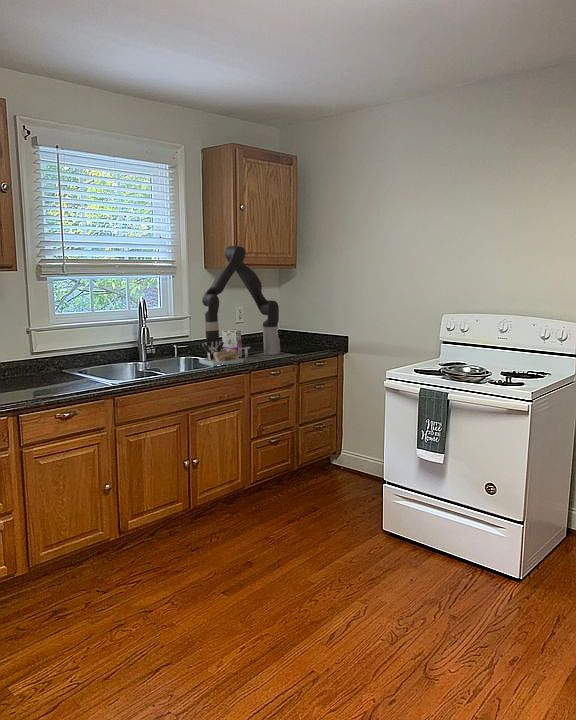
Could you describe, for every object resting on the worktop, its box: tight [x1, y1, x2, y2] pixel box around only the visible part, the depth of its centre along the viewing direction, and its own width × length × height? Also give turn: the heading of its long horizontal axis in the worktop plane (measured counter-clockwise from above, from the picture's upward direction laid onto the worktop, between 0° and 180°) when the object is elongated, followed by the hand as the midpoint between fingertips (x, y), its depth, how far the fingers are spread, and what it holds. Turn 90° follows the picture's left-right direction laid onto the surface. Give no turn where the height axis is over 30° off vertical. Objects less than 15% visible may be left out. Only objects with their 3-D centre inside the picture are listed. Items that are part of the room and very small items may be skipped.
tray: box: [198, 357, 245, 367], centre depth 349 cm, size 19×19×2 cm
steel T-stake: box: [242, 346, 251, 360], centre depth 361 cm, size 5×2×7 cm, turn 122°
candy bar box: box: [221, 329, 243, 358], centre depth 369 cm, size 11×5×16 cm, turn 62°
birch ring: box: [206, 348, 238, 362], centre depth 349 cm, size 14×13×5 cm
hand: (213, 359), depth 347 cm, fingers closed on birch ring, 1 cm apart
